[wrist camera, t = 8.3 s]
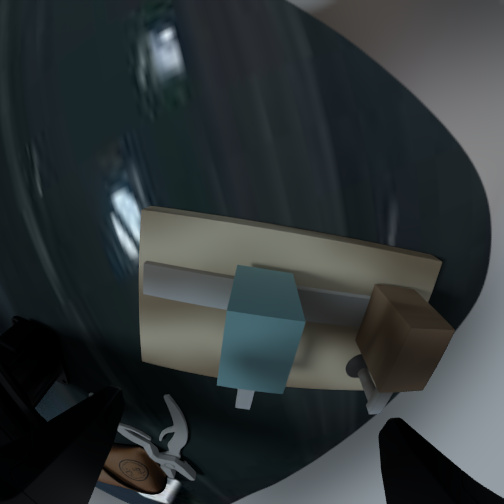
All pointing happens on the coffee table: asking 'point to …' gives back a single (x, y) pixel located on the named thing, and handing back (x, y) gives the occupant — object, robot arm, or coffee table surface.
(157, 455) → the pliers
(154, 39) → the coffee table surface
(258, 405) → the coffee table surface
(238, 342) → the teal block
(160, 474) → the sunglasses case
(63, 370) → the robot arm
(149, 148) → the coffee table surface
